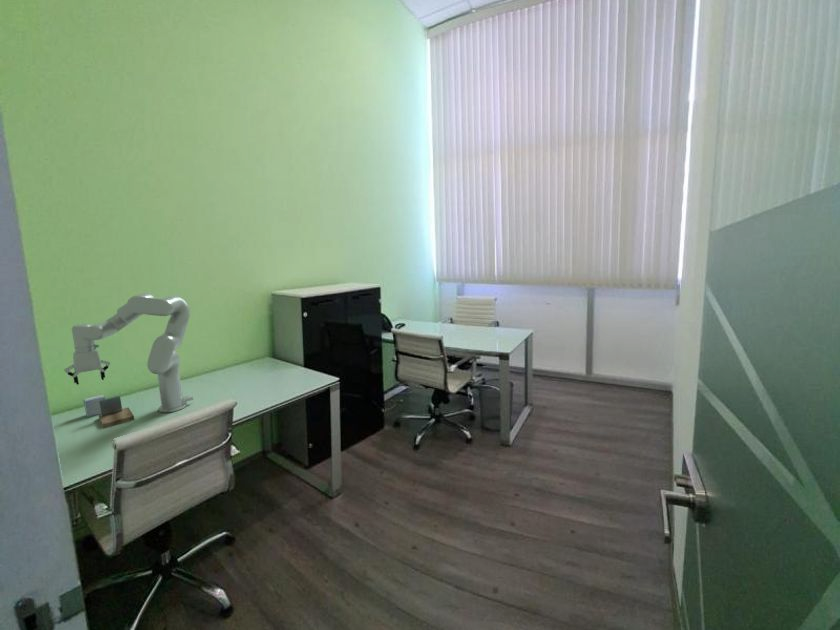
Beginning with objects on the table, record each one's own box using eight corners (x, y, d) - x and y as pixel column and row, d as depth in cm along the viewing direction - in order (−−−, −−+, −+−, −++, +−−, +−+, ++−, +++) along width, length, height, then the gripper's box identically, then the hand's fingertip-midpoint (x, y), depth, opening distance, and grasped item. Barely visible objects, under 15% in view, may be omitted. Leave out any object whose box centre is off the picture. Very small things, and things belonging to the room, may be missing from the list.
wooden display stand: (128, 410, 196) (126, 392, 194) (134, 419, 186) (131, 400, 184) (99, 418, 187) (95, 399, 185) (103, 428, 178) (99, 408, 176)
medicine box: (105, 409, 197) (102, 394, 195) (107, 412, 194) (105, 396, 193) (85, 415, 191) (82, 399, 189) (87, 417, 188) (84, 401, 187)
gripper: (106, 344, 195) (110, 375, 198) (60, 350, 182) (66, 383, 185) (108, 347, 190) (113, 379, 193) (61, 353, 177) (67, 388, 180)
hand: (90, 381), depth 189 cm, fingers open, 9 cm apart
